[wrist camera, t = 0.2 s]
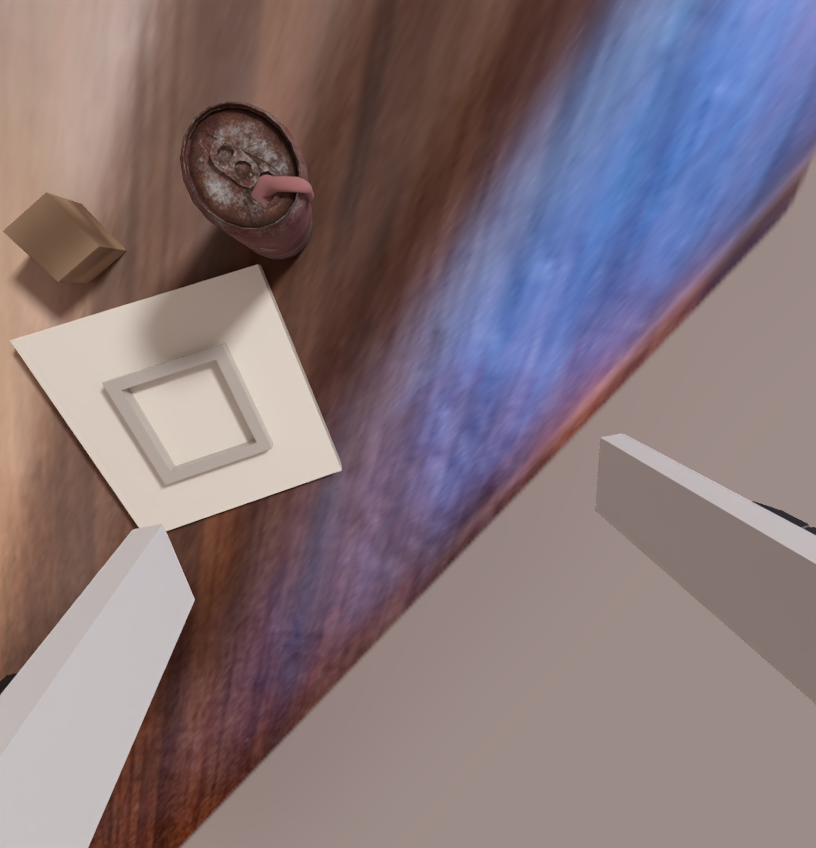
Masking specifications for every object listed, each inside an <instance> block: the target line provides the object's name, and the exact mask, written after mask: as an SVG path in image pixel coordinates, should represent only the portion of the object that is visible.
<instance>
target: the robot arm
mask: <svg viewBox="0 0 816 848" xmlns="http://www.w3.org/2000/svg"><path fill="white" fill-rule="evenodd" d="M595 511H596V512H597V513H598V514H600V515H601V516H602V517H603V518H604V519H605V520H606V521H608V522H609V523H610V524H611V525H612V526H613V527H615V528H616V529H617V530H618V531H619V532H620V533H621V534H622V535H624V536H625V537H626V538H627V539H628V540H629V541H631V542H632V543H633V544H634V545H635V546H636V547H637V548H638V549H639V550H641V551H642V552H643V553H644V554H645V555H646V556H647V557H649V558H650V559H651V560H652V561H653V562H654V563H655V564H657V565H658V566H659V567H660V568H661V569H662V570H664V571H665V572H666V573H667V574H668V575H669V576H670V577H672V578H673V579H674V580H675V581H676V582H677V583H678V584H679V585H681V586H682V587H683V588H684V589H685V590H686V591H687V592H688V593H690V594H691V595H692V596H693V597H694V598H695V599H697V600H698V601H699V602H700V603H701V604H702V605H703V606H705V607H706V608H707V609H708V610H709V611H710V612H711V613H712V614H714V615H715V616H716V617H717V618H718V619H719V620H720V621H722V622H723V623H724V624H725V625H726V626H727V627H728V628H730V629H731V630H732V631H733V632H734V633H735V634H736V635H738V636H739V637H740V638H741V639H742V640H743V641H744V642H745V643H747V644H748V645H749V646H750V647H751V648H752V649H754V650H755V651H756V652H757V653H758V654H759V655H760V656H761V657H763V658H764V659H765V660H766V661H767V662H768V663H769V664H771V665H772V666H773V667H774V668H775V669H776V670H777V671H779V672H780V673H781V674H782V675H783V676H784V677H785V678H786V679H788V680H789V681H790V682H791V683H792V684H793V685H795V686H796V687H797V688H798V689H799V690H800V691H801V692H803V693H804V694H805V695H806V696H807V697H808V698H809V699H810V700H812V701H813V702H814V703H815V704H816V528H815V527H812V528H810V527H809V525H808V524H807V523H805V522H803V521H801V520H799V519H797V518H795V517H793V516H791V515H789V514H787V513H785V512H784V511H781V510H778V509H775V508H772V507H769V506H766V505H763V504H760V503H757V502H754V501H750V500H748V499H746V498H744V497H742V496H740V495H738V494H736V493H735V492H733V491H731V490H729V489H727V488H725V487H723V486H721V485H719V484H718V483H716V482H714V481H712V480H710V479H708V478H706V477H704V476H702V475H700V474H699V473H697V472H695V471H693V470H691V469H689V468H687V467H685V466H683V465H682V464H680V463H678V462H676V461H674V460H672V459H670V458H668V457H666V456H665V455H663V454H661V453H659V452H657V451H655V450H653V449H651V448H649V447H648V446H646V445H644V444H642V443H640V442H638V441H636V440H634V439H632V438H631V437H629V436H627V435H625V434H623V433H621V434H616V435H611V436H606V437H601V439H600V452H599V466H598V480H597V494H596V508H595ZM194 600H195V599H194V596H193V594H192V592H191V589H190V587H189V585H188V582H187V580H186V578H185V575H184V573H183V571H182V568H181V566H180V563H179V561H178V559H177V556H176V554H175V552H174V549H173V547H172V545H171V542H170V540H169V538H168V535H167V533H166V530H165V528H164V526H163V524H158V525H153V526H148V527H143V528H138V529H133V530H132V531H131V532H130V534H129V535H128V536H127V537H126V539H125V540H124V541H123V542H122V544H121V545H120V546H119V547H118V549H117V550H116V551H115V552H114V554H113V555H112V556H111V557H110V559H109V560H108V561H107V562H106V564H105V565H104V566H103V567H102V569H101V570H100V571H99V572H98V574H97V575H96V576H95V577H94V579H93V580H92V581H91V582H90V584H89V585H88V586H87V587H86V589H85V590H84V591H83V592H82V594H81V595H80V596H79V597H78V599H77V600H76V601H75V602H74V604H73V605H72V606H71V607H70V609H69V610H68V611H67V612H66V614H65V615H64V616H63V617H62V618H61V620H60V621H59V622H58V623H57V625H56V626H55V627H54V628H53V630H52V631H51V632H50V633H49V635H48V636H47V637H46V638H45V640H44V641H43V642H42V643H41V645H40V646H39V647H38V648H37V650H36V651H35V652H34V653H33V655H32V656H31V657H30V658H29V660H28V661H27V662H26V663H25V665H24V666H23V667H22V668H21V670H20V671H19V672H18V673H16V674H12V675H7V676H6V677H5V678H4V679H3V680H1V681H0V848H88V847H89V844H90V842H91V840H92V837H93V835H94V833H95V830H96V828H97V826H98V823H99V821H100V819H101V816H102V814H103V812H104V810H105V807H106V805H107V803H108V800H109V798H110V796H111V793H112V791H113V789H114V786H115V784H116V782H117V779H118V777H119V775H120V772H121V770H122V768H123V765H124V763H125V761H126V758H127V756H128V754H129V751H130V749H131V747H132V744H133V742H134V740H135V738H136V735H137V733H138V731H139V728H140V726H141V724H142V721H143V719H144V717H145V714H146V712H147V710H148V707H149V705H150V703H151V700H152V698H153V696H154V693H155V691H156V689H157V686H158V684H159V682H160V679H161V677H162V675H163V672H164V670H165V668H166V666H167V663H168V661H169V659H170V656H171V654H172V652H173V649H174V647H175V645H176V642H177V640H178V638H179V635H180V633H181V631H182V628H183V626H184V624H185V621H186V619H187V617H188V614H189V612H190V610H191V607H192V605H193V603H194Z"/></svg>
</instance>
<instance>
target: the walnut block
mask: <svg viewBox="0 0 816 848" xmlns="http://www.w3.org/2000/svg"><path fill="white" fill-rule="evenodd" d="M3 232H4V233H5V234H6V235H7V236H9V237H10V238H11V239H12V240H13V241H14V242H15V243H16V244H17V245H18V246H19V247H20V248H21V249H23V250H24V251H25V252H26V253H27V254H28V255H29V256H30V257H31V258H32V259H33V260H34V261H35V262H37V263H38V264H39V265H40V266H41V267H42V268H43V269H44V270H45V271H46V272H47V273H48V274H49V275H51V276H52V277H53V278H54V279H55V280H56V281H57V282H91V281H92V280H93V279H94V278H96V277H97V276H98V275H99V274H100V273H101V272H103V271H104V270H105V269H106V268H107V267H108V266H110V265H111V264H112V263H113V262H114V261H115V260H116V259H118V258H119V257H120V256H121V255H122V254H123V253H125V252H126V250H125V249H124V247H123V246H122V245H121V244H120V243H119V242H118V241H117V240H116V239H115V238H114V237H113V236H112V235H111V234H110V233H109V232H108V231H107V230H106V229H105V228H104V227H103V226H102V225H101V224H100V223H99V222H98V221H97V220H96V219H95V217H94V216H93V215H92V214H91V213H90V212H89V211H88V210H87V209H86V208H85V207H84V206H83V205H82V204H80V203H77V202H74V201H70V200H67V199H64V198H61V197H58V196H55V195H52V194H49V193H45V194H44V195H43V196H42V197H41V198H40V199H39V200H37V201H36V202H35V203H34V204H33V205H32V206H31V207H30V208H28V209H27V210H26V211H25V212H24V213H23V214H22V215H21V216H19V217H18V218H17V219H16V220H15V221H14V222H13V223H12V224H10V225H9V226H8V227H7V228H6V229H5V230H4V231H3Z"/></svg>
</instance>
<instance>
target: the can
mask: <svg viewBox="0 0 816 848" xmlns="http://www.w3.org/2000/svg"><path fill="white" fill-rule="evenodd" d="M180 162H181V168H182V175H183V181H184V183H185V185H186V188H187V190H188V192H189V194H190V196H191V199H192V201H193V203H194V204H195V205H196V206H197V207H198V209H199V210H200V211H201V212H202V214H203V215H204V216H205V217H206V218H207V220H209V221H210V222H212V223H213V224H214V225H216V226H217V227H219V228H220V229H221V230H223V231H224V232H226V233H227V234H229V235H230V236H232V237H233V238H235V239H236V240H238V241H239V242H241V243H242V244H244V245H245V246H247V247H248V248H250V249H251V250H253V251H254V252H256V253H257V254H259V255H260V256H263V257H266V258H269V259H272V260H285V259H288V258H291V257H294V256H296V255H297V254H298V253H300V252H301V251H302V250H304V248H305V247H306V245H307V243H308V242H309V240H310V238H311V234H312V229H313V219H312V208H311V203H312V201H313V198H314V193H313V190H312V187H311V185H310V184H309V182H308V174H307V167H306V164H305V161H304V158H303V155H302V152H301V149H300V147H299V145H298V144H297V142H296V141H295V139H294V138H293V136H292V135H291V133H290V132H289V130H288V129H287V128H286V127H285V126H284V125H283V124H282V123H281V122H280V121H278V120H277V119H276V118H275V117H274V116H273V115H271V114H270V113H269V112H267V111H264V110H262V109H260V108H258V107H256V106H253V105H251V104H248V103H238V102H224V103H220V104H216V105H213V106H209V107H208V108H206V109H205V110H204V111H202V112H201V113H200V114H199V115H197V116H196V117H195V118H194V119H193V121H192V123H191V124H190V126H189V128H188V130H187V132H186V133H185V135H184V137H183V143H182V149H181V156H180Z"/></svg>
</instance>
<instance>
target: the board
mask: <svg viewBox="0 0 816 848" xmlns="http://www.w3.org/2000/svg"><path fill="white" fill-rule="evenodd" d="M10 341H11V343H12V344H13V346H14V347H15V349H16V350H17V352H18V353H19V354H20V356H21V357H22V359H23V360H24V362H25V363H26V365H27V366H28V368H29V369H30V370H31V372H32V373H33V375H34V376H35V378H36V379H37V381H38V382H39V383H40V385H41V386H42V388H43V389H44V391H45V392H46V394H47V395H48V397H49V398H50V399H51V401H52V402H53V404H54V405H55V407H56V408H57V410H58V411H59V412H60V414H61V415H62V417H63V418H64V420H65V421H66V423H67V424H68V426H69V427H70V428H71V430H72V431H73V433H74V434H75V436H76V437H77V439H78V440H79V441H80V443H81V444H82V446H83V447H84V449H85V450H86V452H87V453H88V455H89V456H90V457H91V459H92V460H93V462H94V463H95V465H96V466H97V468H98V469H99V470H100V472H101V473H102V475H103V476H104V478H105V479H106V481H107V482H108V484H109V485H110V486H111V488H112V489H113V491H114V492H115V494H116V495H117V497H118V498H119V499H120V501H121V502H122V504H123V505H124V507H125V508H126V510H127V511H128V513H129V514H130V515H131V517H132V518H133V520H134V521H135V523H136V524H137V526H138V527H139V528H143V527H148V526H153V525H158V524H163V526H164V528H165V530H166V531H168V530H171V529H174V528H177V527H180V526H183V525H186V524H188V523H191V522H194V521H197V520H200V519H203V518H206V517H209V516H212V515H214V514H217V513H220V512H223V511H226V510H229V509H232V508H235V507H237V506H240V505H243V504H246V503H249V502H252V501H255V500H258V499H260V498H263V497H266V496H269V495H272V494H275V493H278V492H281V491H284V490H286V489H289V488H292V487H295V486H298V485H301V484H304V483H307V482H309V481H312V480H315V479H318V478H321V477H324V476H327V475H330V474H332V473H335V472H338V471H341V470H342V464H341V461H340V459H339V456H338V454H337V451H336V449H335V446H334V444H333V442H332V439H331V437H330V434H329V432H328V429H327V427H326V424H325V422H324V419H323V417H322V414H321V412H320V409H319V407H318V404H317V402H316V400H315V397H314V395H313V392H312V390H311V387H310V385H309V382H308V380H307V377H306V375H305V372H304V370H303V367H302V365H301V363H300V360H299V358H298V355H297V353H296V350H295V348H294V345H293V343H292V340H291V338H290V335H289V333H288V330H287V328H286V326H285V323H284V321H283V318H282V316H281V313H280V311H279V308H278V306H277V303H276V301H275V298H274V296H273V293H272V291H271V289H270V286H269V284H268V281H267V279H266V276H265V274H264V271H263V269H262V266H261V265H259V264H257V265H254V266H251V267H247V268H244V269H241V270H238V271H234V272H231V273H228V274H224V275H221V276H218V277H215V278H211V279H208V280H205V281H202V282H198V283H195V284H192V285H189V286H185V287H182V288H179V289H176V290H172V291H169V292H166V293H163V294H159V295H156V296H153V297H150V298H146V299H143V300H140V301H137V302H133V303H130V304H127V305H124V306H120V307H117V308H114V309H111V310H107V311H104V312H101V313H98V314H94V315H91V316H88V317H85V318H81V319H78V320H75V321H71V322H68V323H65V324H62V325H58V326H55V327H52V328H49V329H45V330H42V331H39V332H36V333H32V334H29V335H26V336H23V337H19V338H16V339H13V340H10Z"/></svg>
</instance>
